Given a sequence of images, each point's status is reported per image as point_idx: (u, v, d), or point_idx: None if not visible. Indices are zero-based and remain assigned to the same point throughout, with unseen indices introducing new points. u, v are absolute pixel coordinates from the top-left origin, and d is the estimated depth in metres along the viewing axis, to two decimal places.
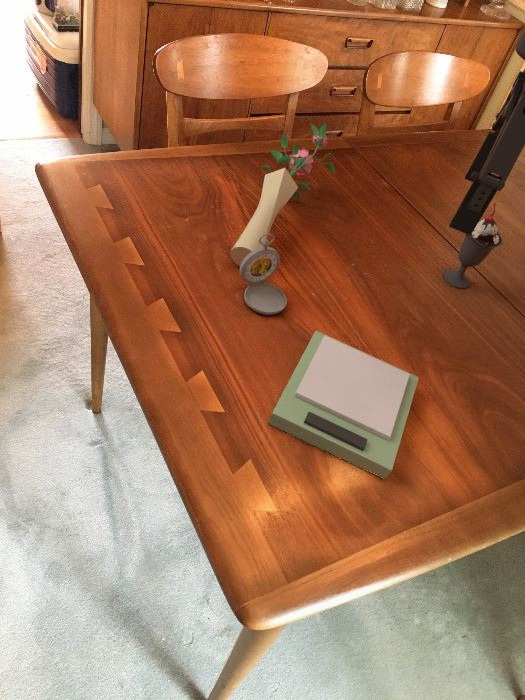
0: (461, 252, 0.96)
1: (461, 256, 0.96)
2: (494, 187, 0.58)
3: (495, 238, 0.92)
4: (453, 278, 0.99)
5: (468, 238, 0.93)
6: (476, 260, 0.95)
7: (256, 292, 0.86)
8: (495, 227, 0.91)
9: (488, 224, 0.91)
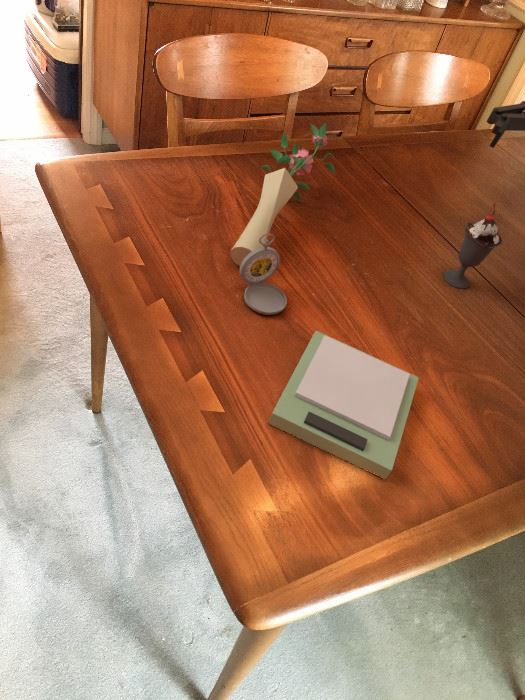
0: (461, 252, 0.96)
1: (461, 256, 0.96)
2: (491, 112, 0.96)
3: (495, 238, 0.92)
4: (453, 278, 0.99)
5: (468, 238, 0.93)
6: (476, 260, 0.95)
7: (256, 292, 0.86)
8: (495, 227, 0.91)
9: (488, 224, 0.91)
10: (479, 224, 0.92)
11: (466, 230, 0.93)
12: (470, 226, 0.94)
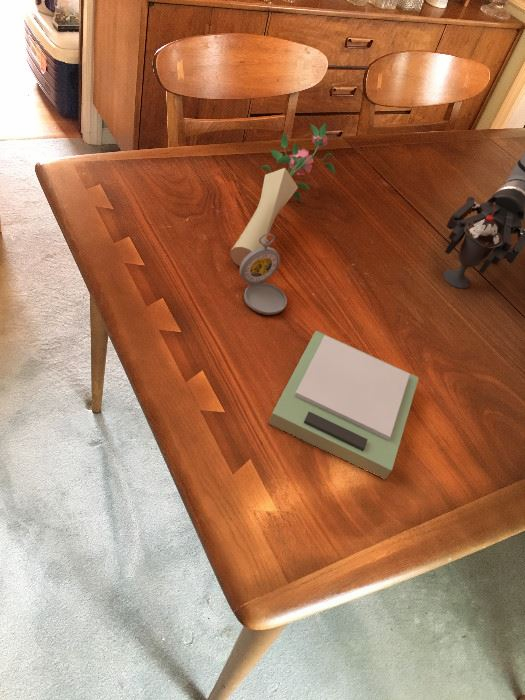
0: (461, 252, 0.96)
1: (461, 256, 0.96)
2: (451, 219, 0.97)
3: (495, 238, 0.92)
4: (453, 278, 0.99)
5: (468, 238, 0.93)
6: (476, 260, 0.95)
7: (256, 292, 0.86)
8: (495, 227, 0.91)
9: (488, 224, 0.91)
10: (479, 224, 0.92)
11: (466, 230, 0.93)
12: (470, 226, 0.94)
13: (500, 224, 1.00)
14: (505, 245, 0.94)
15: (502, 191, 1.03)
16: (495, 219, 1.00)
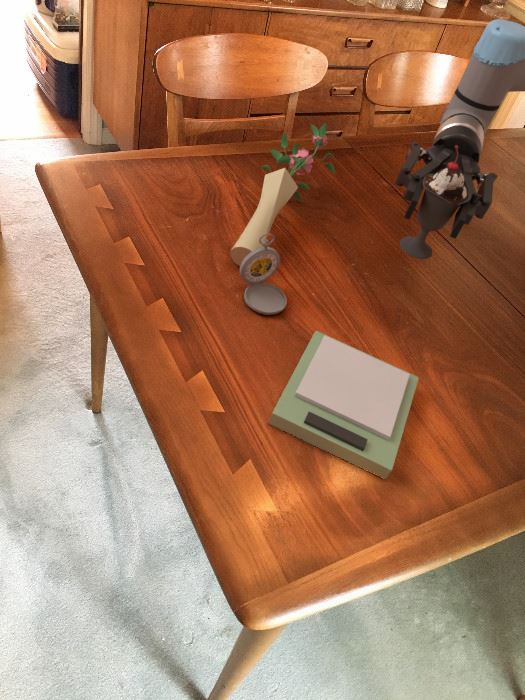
0: (421, 214, 0.75)
1: (422, 219, 0.75)
2: (401, 173, 0.76)
3: (463, 191, 0.72)
4: (413, 247, 0.79)
5: (429, 196, 0.73)
6: (442, 222, 0.75)
7: (256, 292, 0.86)
8: (462, 177, 0.71)
9: (454, 174, 0.71)
10: (442, 176, 0.71)
11: (426, 185, 0.72)
12: (429, 180, 0.73)
13: None
14: (473, 198, 0.74)
15: (448, 130, 0.84)
16: None
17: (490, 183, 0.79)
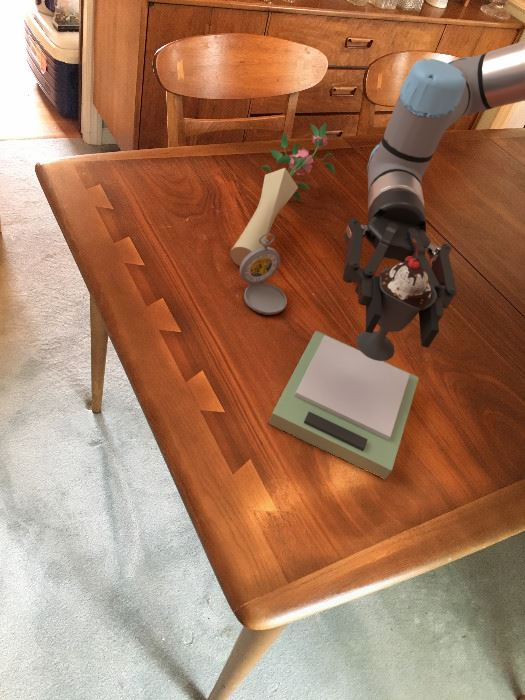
0: (381, 317, 0.63)
1: (382, 322, 0.63)
2: (349, 270, 0.64)
3: (428, 289, 0.61)
4: (373, 348, 0.67)
5: (390, 300, 0.61)
6: (406, 323, 0.63)
7: (256, 292, 0.86)
8: (426, 276, 0.59)
9: (416, 275, 0.59)
10: (403, 277, 0.59)
11: (385, 289, 0.60)
12: (386, 279, 0.61)
13: (407, 251, 0.68)
14: (437, 290, 0.63)
15: (387, 197, 0.72)
16: (398, 245, 0.68)
17: (447, 261, 0.68)
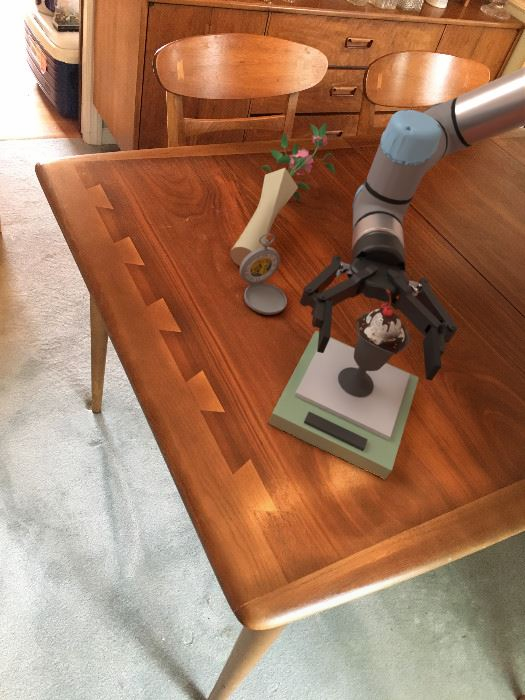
0: (359, 358, 0.68)
1: (361, 363, 0.69)
2: (303, 293, 0.70)
3: (401, 334, 0.66)
4: (354, 385, 0.73)
5: (367, 344, 0.66)
6: (382, 364, 0.68)
7: (256, 292, 0.86)
8: (399, 322, 0.65)
9: (390, 322, 0.64)
10: (377, 324, 0.64)
11: (361, 334, 0.66)
12: (363, 325, 0.66)
13: None
14: (441, 328, 0.70)
15: (369, 240, 0.77)
16: (378, 286, 0.73)
17: (433, 296, 0.74)
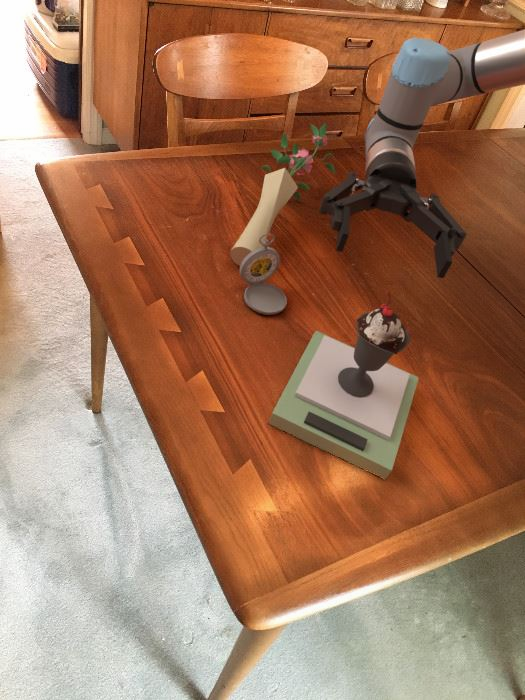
0: (359, 358, 0.68)
1: (361, 363, 0.69)
2: (322, 201, 0.75)
3: (401, 334, 0.66)
4: (354, 385, 0.73)
5: (367, 344, 0.66)
6: (382, 364, 0.68)
7: (256, 292, 0.86)
8: (399, 322, 0.65)
9: (390, 322, 0.64)
10: (377, 324, 0.64)
11: (361, 334, 0.66)
12: (363, 325, 0.66)
13: (400, 204, 0.78)
14: (451, 233, 0.75)
15: (382, 158, 0.82)
16: (391, 198, 0.78)
17: (443, 208, 0.79)
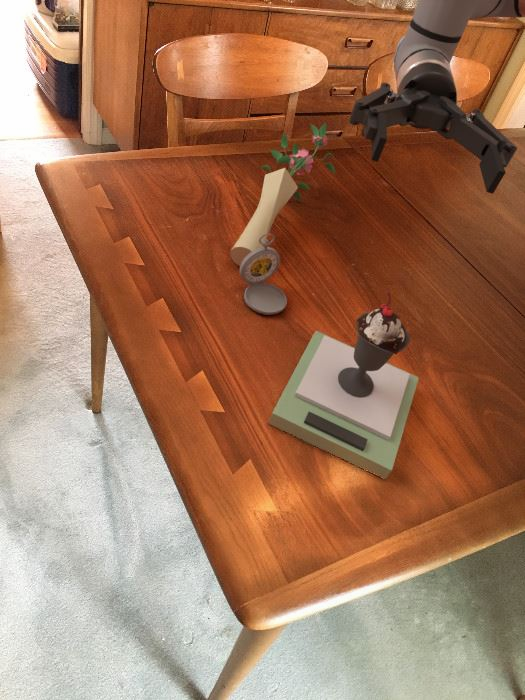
0: (359, 358, 0.68)
1: (361, 363, 0.69)
2: (354, 108, 0.65)
3: (401, 334, 0.66)
4: (354, 385, 0.73)
5: (367, 344, 0.66)
6: (382, 364, 0.68)
7: (256, 292, 0.86)
8: (399, 322, 0.65)
9: (390, 322, 0.64)
10: (377, 324, 0.64)
11: (361, 334, 0.66)
12: (363, 325, 0.66)
13: (440, 117, 0.69)
14: (500, 145, 0.65)
15: (418, 69, 0.72)
16: (430, 110, 0.69)
17: (488, 123, 0.70)
